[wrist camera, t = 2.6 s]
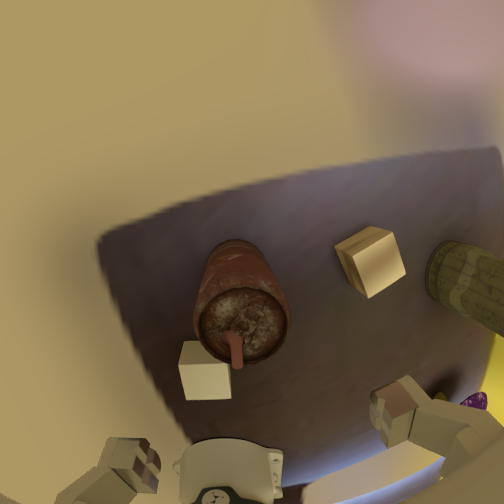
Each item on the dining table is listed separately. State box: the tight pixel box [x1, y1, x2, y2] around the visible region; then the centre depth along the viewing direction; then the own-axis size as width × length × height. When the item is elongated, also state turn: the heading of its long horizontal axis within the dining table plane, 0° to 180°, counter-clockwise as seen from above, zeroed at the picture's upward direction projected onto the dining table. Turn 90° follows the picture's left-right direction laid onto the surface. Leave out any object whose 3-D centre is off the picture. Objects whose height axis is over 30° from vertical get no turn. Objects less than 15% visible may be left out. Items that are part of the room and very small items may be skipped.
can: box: [193, 239, 291, 369], centre depth 23 cm, size 6×6×14 cm
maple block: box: [334, 226, 406, 298], centre depth 28 cm, size 5×5×5 cm
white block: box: [178, 341, 231, 400], centre depth 29 cm, size 5×5×5 cm
